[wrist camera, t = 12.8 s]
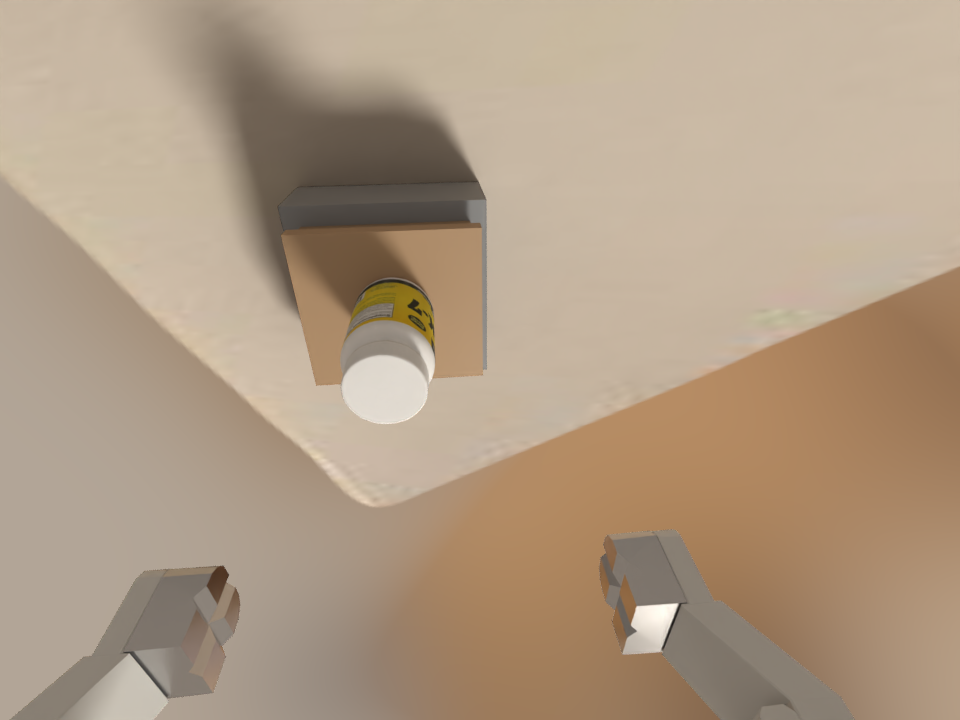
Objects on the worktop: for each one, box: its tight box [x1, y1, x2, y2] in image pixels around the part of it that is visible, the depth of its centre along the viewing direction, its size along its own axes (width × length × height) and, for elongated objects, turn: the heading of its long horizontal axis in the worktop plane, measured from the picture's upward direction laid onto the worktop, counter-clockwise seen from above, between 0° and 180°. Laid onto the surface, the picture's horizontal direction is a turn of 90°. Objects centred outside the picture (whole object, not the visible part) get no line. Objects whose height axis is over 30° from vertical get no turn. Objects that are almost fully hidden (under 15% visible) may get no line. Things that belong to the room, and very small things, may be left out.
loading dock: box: [278, 182, 487, 386], centre depth 32 cm, size 12×12×7 cm
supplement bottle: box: [340, 277, 435, 424], centre depth 25 cm, size 5×5×8 cm
